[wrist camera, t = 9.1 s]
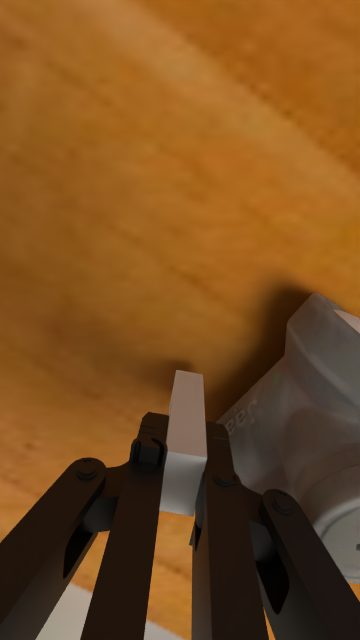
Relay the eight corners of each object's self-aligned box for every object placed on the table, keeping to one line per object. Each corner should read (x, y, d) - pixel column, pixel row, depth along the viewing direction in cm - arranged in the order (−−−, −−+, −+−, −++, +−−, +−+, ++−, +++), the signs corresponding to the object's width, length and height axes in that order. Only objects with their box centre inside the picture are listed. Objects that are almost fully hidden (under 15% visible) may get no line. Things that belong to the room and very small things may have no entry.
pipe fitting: (302, 264, 17) (437, 381, 7) (402, 345, 18) (611, 523, 9) (170, 405, 21) (150, 588, 12) (261, 460, 23) (305, 657, 14)
